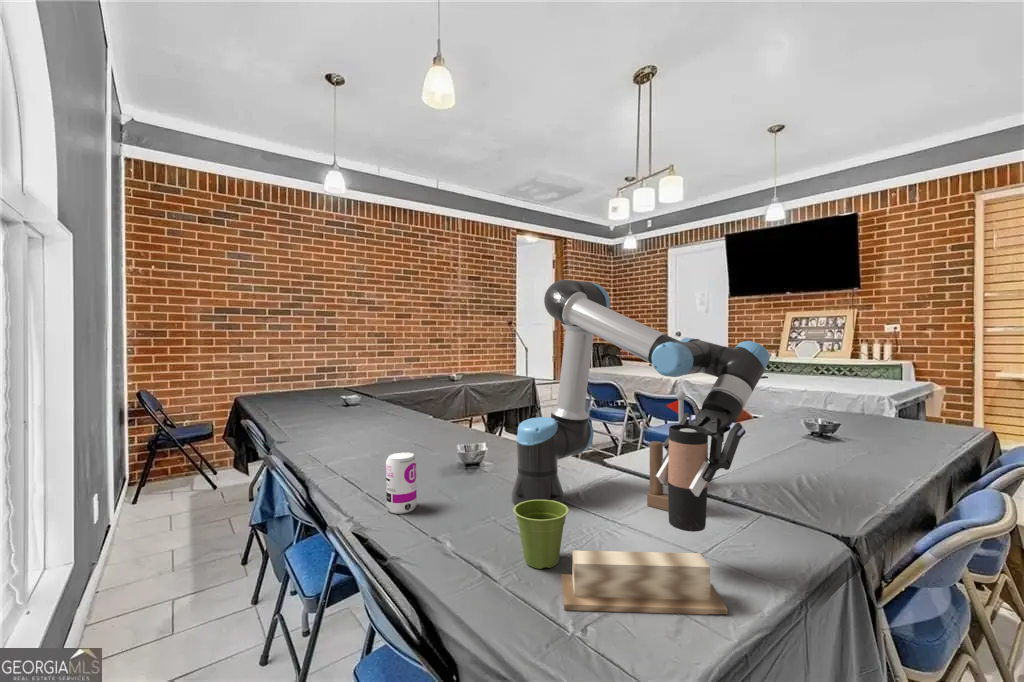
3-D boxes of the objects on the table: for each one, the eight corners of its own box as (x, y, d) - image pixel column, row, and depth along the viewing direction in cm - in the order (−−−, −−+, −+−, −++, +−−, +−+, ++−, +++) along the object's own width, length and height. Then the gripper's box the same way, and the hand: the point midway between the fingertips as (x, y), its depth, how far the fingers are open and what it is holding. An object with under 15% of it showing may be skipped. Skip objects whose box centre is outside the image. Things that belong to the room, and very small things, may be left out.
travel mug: (661, 516, 97) (662, 424, 96) (695, 515, 97) (696, 424, 97) (677, 533, 89) (678, 432, 88) (714, 531, 90) (715, 432, 89)
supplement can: (422, 505, 128) (421, 453, 128) (403, 516, 120) (403, 461, 120) (399, 501, 131) (399, 450, 131) (380, 511, 124) (379, 457, 124)
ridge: (564, 609, 79) (563, 570, 79) (561, 579, 89) (561, 544, 89) (727, 615, 77) (727, 574, 77) (706, 582, 87) (706, 547, 87)
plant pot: (571, 550, 101) (571, 500, 101) (565, 578, 89) (565, 522, 89) (520, 545, 103) (519, 496, 103) (508, 572, 92) (507, 517, 92)
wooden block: (684, 516, 119) (684, 448, 119) (646, 506, 126) (646, 442, 126) (690, 512, 122) (690, 446, 121) (652, 502, 129) (652, 440, 129)
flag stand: (709, 484, 144) (709, 391, 144) (692, 494, 135) (692, 395, 135) (670, 475, 154) (670, 387, 153) (652, 484, 144) (652, 391, 144)
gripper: (779, 419, 92) (730, 514, 84) (693, 404, 109) (646, 482, 101) (765, 395, 89) (713, 491, 81) (679, 384, 106) (629, 462, 98)
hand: (676, 486), depth 91 cm, fingers closed on travel mug, 7 cm apart
